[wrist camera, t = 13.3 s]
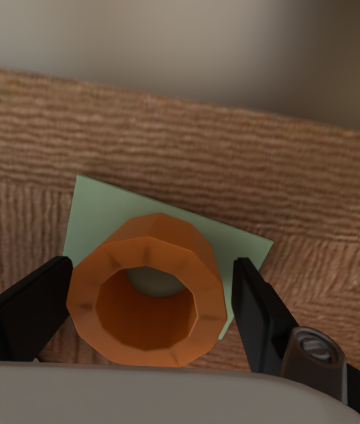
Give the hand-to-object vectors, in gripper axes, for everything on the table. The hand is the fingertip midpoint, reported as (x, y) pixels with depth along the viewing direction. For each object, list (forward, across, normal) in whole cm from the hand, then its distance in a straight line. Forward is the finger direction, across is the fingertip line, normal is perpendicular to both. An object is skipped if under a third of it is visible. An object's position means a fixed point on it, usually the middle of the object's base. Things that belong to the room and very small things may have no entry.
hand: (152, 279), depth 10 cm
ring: (+1, 0, 0) cm, 1 cm away
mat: (+2, 0, 0) cm, 2 cm away
